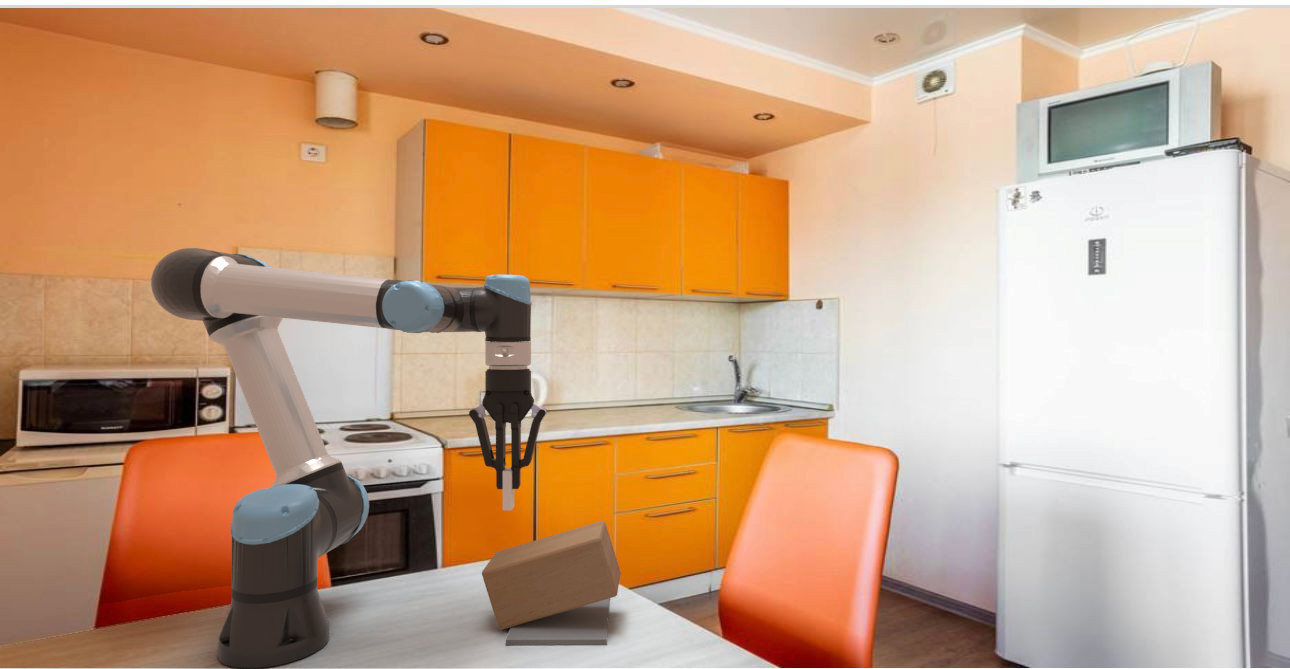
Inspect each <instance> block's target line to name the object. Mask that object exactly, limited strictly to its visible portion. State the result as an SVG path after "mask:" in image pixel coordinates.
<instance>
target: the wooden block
mask: <svg viewBox="0 0 1290 669" xmlns="http://www.w3.org/2000/svg"><path fill="white" fill-rule="evenodd" d="M621 574H622V573H621V569H620V565H619V562H618V559H617V557H616V553H615V549H614V546H613V544H612V540H611V536H610V532H609V529H608V527H607V523H606V522H605V520H599V521H598V522H594V523H590V524H587V525H583V526H581V527H577V528H573V529H569V530H566V531H563V532H559V533H557V534H553V535H549V536H546V537H543V538H539V539H535V540H532V541H530V542H525V543H522V544H519V545H516V546H512V547H510V548H504V549H502V550H499V551H498V550H497V551H496V552H495V553H494V554H493V555H492V557H491V558H490V560H489V561H488V563H487V564H486V566H485V567H484V569H482V572H481V576H482V579H483V582H484V586H485V589H486V592H487V596H488V598H489V602H490V604H491V608H492V611H493V612H492V613H493V614H494V618H495V622H496V624H497V628H498V629H499V630H506V629H510V628H511V627H512V626H516V625H519V624H523V623H526V622H530V621H533V620H537V619H540V618H543V617H547V616H550V615H554V614H557V613H561V612H564V611H568V610H571V609H574V608H578V607H581V606H585V605H588V604H592V603H595V602H599V601H602V600H606V599H609V600H610V599H612V598H615V597H616V596H618V591H619V586H620V579H621Z"/></svg>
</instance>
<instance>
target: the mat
mask: <svg viewBox="0 0 1290 669" xmlns="http://www.w3.org/2000/svg"><path fill="white" fill-rule="evenodd" d="M609 611H610V598H609V599H606V600H602V601H599V602H595V603H592V604H588V605H585V606H581V607H578V608H574V609H571V610H568V611H564V612H561V613H557V614H554V615H550V616H547V617H543V618H540V619H537V620H533V621H530V622H526V623H523V624H519V625H516V626H512V627H509V631H508V634H507V636H506V638H505V646H585V645H586V646H591V645H592V646H594V645H595V646H597V645H598V646H604V645H606V646H607V642H608V627H609Z"/></svg>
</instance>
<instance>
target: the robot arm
mask: <svg viewBox="0 0 1290 669" xmlns="http://www.w3.org/2000/svg"><path fill="white" fill-rule="evenodd" d="M150 281H151V282H150V287H151V291H152V294H153V297H154V299H155V300H156V302H157V303H158V304H159V306H160V307H161V308H162V309H163V310H165V311H166V312H168V313H169V314H171V315H172V316H175V317H177V318H181V319H183V320H184V319H185V320H190V321H202V322H203V323H202V324H204V328H205V329H206V332H207V334H208V337H209V340H210V341H212V342H214V343H216V344H219V345H221V346H223V347H224V349H225V352H226V354H227V356H228V360H229V362H230V364H231V366H232V369H233V371H234V374H235V377H236V379H237V383H238V385H239V386H240V388H241V392H242V394H243V397H244V399H245V401H246V404H247V406H248V409H249V412H250V415H251V417H252V419H253V421H254V423H255V426H256V428H257V431H258V434H259V437H260V439H261V441H262V443H263V446H264V448H265V451H266V453H267V456H268V458H269V461H270V464H271V467H272V468H273V470H274V474H275V479H274V481H273V483H272V485H271V486H269V488H260V489H258V490H257V489H256V490H255V491H252V492H250V493H247V494H246V495H244V496H242V497H241V498H240V499H239V500H238V501H237V502H236V503H235V505H234V506H233V509H232V518H231V524H230V536H231V603H230V605H229V609H228V611H227V613H226V617H225V620H224V623H223V625H222V628H221V631H220V634H219V637H218V638H217V639H218V640H217V659H218V661H219V662H220V663H221V664H223V665H226V666H228V667H231V668H239V669H260V668H268V667H276V666H280V665H284V664H289V663H291V662H296V661H298V660H301V659H303V658H307V657H308V656H310V655H312V654H315V653H316V652H318V651H319V650H321V649H322V648H323V647H325V645H327V643H328V642H329V640H330V621H329V618H328V614H327V613H326V610H325V607H324V605H323V601H322V599H321V596H320V594H319V589H318V559H319V558H320V557H322V556H324V555H326V554H327V553H328V552H330V551H332V550H334V549H335V548H338V547H341V546H342V545H345V544H346V543H348V542H349V541H350V540H351V539H352V538H353V537H354V536H355V535H356V534H358V533H359V531H361V530H362V528H363V527H364V525H365V523H366V520H367V518H368V516H369V512H370V510H369V509H370V500H369V495H368V492H367V490H366V488H365V486H364V485H363V483H361V482H360V481H359V480H358V479H357V478H354V477H352V476H351V475H349V474H347V473H346V470H345V468H344V464H343V463H342V460H341V459H339V458H336V457H333V456H331V455H329V453H328V450H327V449H326V446H325V444H324V440H323V439H322V436H321V434H320V431H319V429H318V427H317V423H316V422H315V419H314V417H313V415H312V411H311V409H310V406H309V404H308V402H307V400H306V397H305V394H304V392H303V390H302V387H301V384H300V382H299V380H298V377H297V375H296V372H295V370H294V367H293V365H292V363H291V359H290V357H289V355H288V352H287V350H286V348H285V345H284V343H283V340H282V338H281V336H280V335H281V334H280V333H279V331H278V329H279V326H280V324H281V322H282V320H283V319H289V320H291V319H292V320H300V321H309V322H310V321H311V322H318V323H319V322H320V323H327V324H329V323H330V324H339V325H349V326H357V327H358V326H360V327H368V328H377V329H387V330H393V331H401V332H402V333H408V334H409V333H410V334H422V333H431V334H435V333H436V334H441V333H469V332H470V333H471V332H472V333H474V332H476V333H482V332H484V333H485V334H484V335H485V336H484V337H485V338H484V342H485V352H484V353H485V355H484V358H485V359H484V360H485V361H484V362H485V365H486V366H488V368H487V369H486V370H485V375H484V376H485V380H484V381H485V382H484V383H485V388H484V389H485V390H484V391H485V394H484V397H483V399H482V402H481V404H480V405H478V406H477V407H475V408H473V409H470V410H469V412H468V415H469V417H470V419H471V420H472V421H473V423H474V424H475V425H474V426H475V428H476V433H477V437H478V440H479V445H480V449H481V452H482V457H483V461H484V465H485V466H486V467H490V468H493V469H494V470H495V475H496V476H495V477H496V478H495V479H496V480H495V482H496V483H495V485H496V486H495V487H496V489H497V490H502V511H513V509H514V508H515V490H518V489H519V488H520V486H521V483H522V482H521V470H522V469H523V468H525V467H528V466H530V464H531V463H532V460H533V455H534V451H535V449H536V445H537V444H536V443H537V439H538V435H539V431H540V427H541V422H542V421H543V419H544V418H545V416H546V415H547V413H548V410H547V409H546V408H545V407H541V406H540V405H538V404H537V403H535V399H534V397H533V395H532V371H531V369H530V368H528V367H529V366H530V365H532V341H531V339H532V337H531V332H532V331H531V328H532V327H531V324H532V323H531V321H532V305H533V304H532V299H531V298H532V297H531V283H530V279H529V278H527V277H526V276H525V275H519V274H490V275H487V276H486V277H485V281H484V284H483V286H480V287H479V286H477V287H452V286H451V287H450V286H443V285H438V284H432V283H428V282H425V281H420V280H413V279H412V280H410V279H409V280H408V279H407V280H402V279H401V280H399V279H389V278H379V277H372V276H371V277H370V276H362V275H361V276H360V275H351V274H340V273H331V272H321V271H312V270H301V269H291V268H282V267H272V266H271V265H269V264H267V262H264V261H263V260H260V259H257V258H255V257H252V256H249V255H247V254H242V253H227V252H222V251H215V250H210V249H204V248H199V247H190V248H189V247H188V248H187V247H185V248H180V249H176V250H173V251H172V252H170V253H167V255H165V256H163V257H162V259H160V260H159V261H158V263H157V264H156V266H154V269H153V271H152V275H151V278H150ZM530 410H531V417H532V422H531V425H530V429H529V433H528V437H527V441H526V446H525V450H524V454H523V458H522V442H521V441H522V440H521V439H522V438H521V437H522V435H521V434H522V421H523V420H524V419H525V417H526V416H527V414H528V413H529V412H530ZM486 412H487V414H488V415H489V416H490V417H491V419H492V420H493V421H494V422H495V424H494V426H495V427H494V428H495V455H494V451H493V446H492V444H491V438H490V436H489V435H490V434H489V430H488V426H487V422H486V420H485V417H486ZM507 423H508V424H510V429H511V430H510V432H511V433H510V434H511V435H510V436H511V438H510V439H511V440H510V441H511V444H510V446H511V449H510V450H511V452H510V453H511V454H510V455H511V456H510V457H511V467H506V466H507V463H506V457H507V456H506V455H507V454H506V449H507V448H506V436H507V435H506V429H507Z"/></svg>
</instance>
